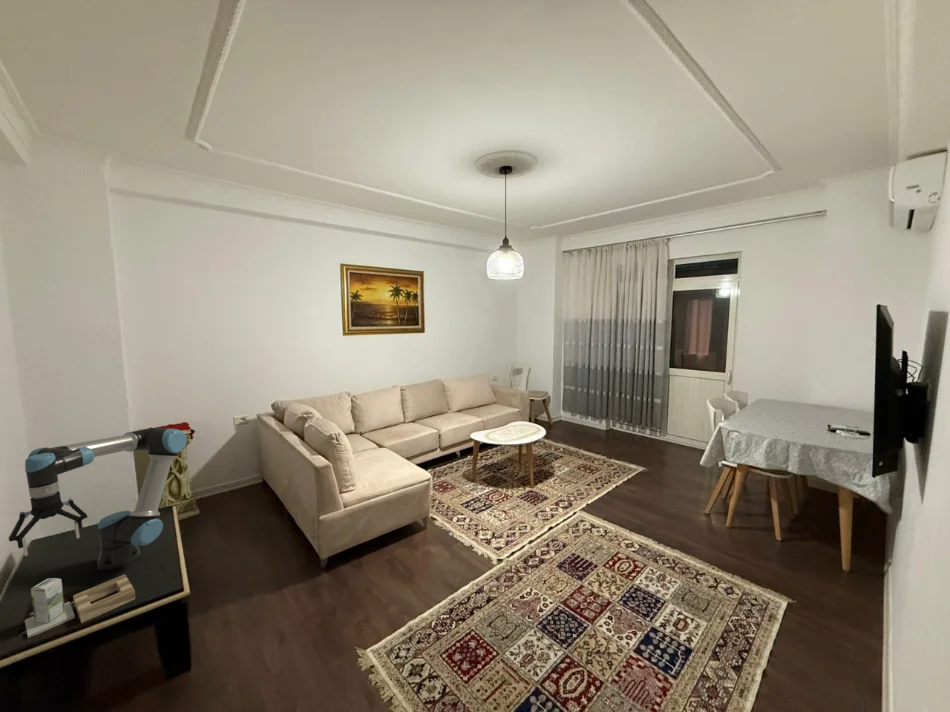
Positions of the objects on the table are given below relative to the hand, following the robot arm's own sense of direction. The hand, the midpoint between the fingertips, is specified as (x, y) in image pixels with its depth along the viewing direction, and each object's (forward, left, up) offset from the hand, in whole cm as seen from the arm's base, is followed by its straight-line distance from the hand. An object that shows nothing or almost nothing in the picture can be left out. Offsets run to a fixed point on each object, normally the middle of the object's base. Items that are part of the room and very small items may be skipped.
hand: (53, 545), depth 147 cm
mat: (+1, -3, -29) cm, 29 cm away
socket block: (+5, +12, -29) cm, 32 cm away
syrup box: (+1, -3, -29) cm, 29 cm away
